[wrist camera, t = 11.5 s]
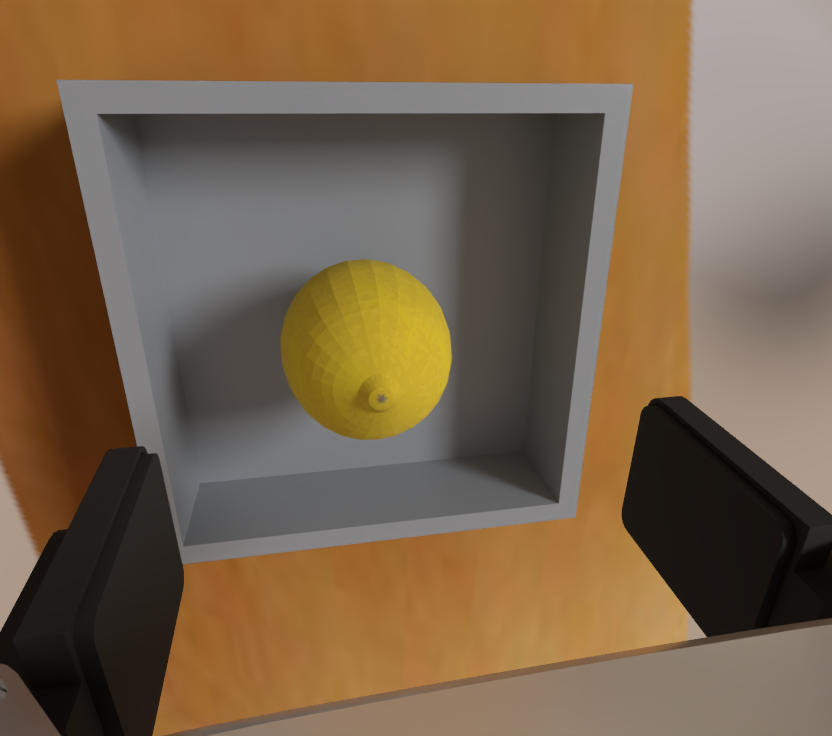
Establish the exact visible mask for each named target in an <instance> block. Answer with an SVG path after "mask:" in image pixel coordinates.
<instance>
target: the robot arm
mask: <svg viewBox="0 0 832 736" xmlns="http://www.w3.org/2000/svg"><path fill="white" fill-rule="evenodd" d="M622 520H623V524H624V526H625V528H626V530H627V531H628V533H629V534H630V535H631V537H632V538H633V539H634V541H635V542H636V543H637V545H638V546H639V547H640V549H641V550H642V551H643V553H644V554H645V555H646V557H647V558H648V559H649V561H650V562H651V563H652V565H653V566H654V567H655V569H656V570H657V571H658V573H659V574H660V575H661V577H662V578H663V579H664V581H665V582H666V583H667V585H668V586H669V587H670V588H671V590H672V591H673V592H674V594H675V595H676V596H677V598H678V599H679V600H680V602H681V603H682V604H683V606H684V607H685V608H686V610H687V611H688V612H689V614H690V615H691V616H692V618H693V619H694V620H695V622H696V623H697V624H698V626H699V627H700V628H701V630H702V631H703V632H704V634H705V635H706V636H707V637H706V638H700V639H694V640H688V641H682V642H676V643H670V644H664V645H658V646H652V647H646V648H640V649H634V650H628V651H622V652H616V653H610V654H605V655H599V656H593V657H587V658H581V659H575V660H570V661H564V662H558V663H552V664H546V665H540V666H535V667H529V668H523V669H517V670H512V671H506V672H500V673H494V674H488V675H483V676H477V677H471V678H465V679H460V680H454V681H448V682H443V683H437V684H431V685H426V686H420V687H415V688H409V689H403V690H398V691H392V692H387V693H381V694H375V695H370V696H364V697H359V698H353V699H347V700H342V701H336V702H331V703H325V704H319V705H314V706H308V707H302V708H297V709H292V710H287V711H282V712H277V713H271V714H266V715H261V716H256V717H251V718H246V719H241V720H236V721H230V722H225V723H220V724H215V725H210V726H205V727H200V728H195V729H190V730H185V731H181V732H177V733H173V734H168V735H164V736H832V515H831V514H830V513H829V512H828V511H826V510H825V509H824V508H822V507H821V506H820V505H819V504H818V503H816V502H815V501H814V500H813V499H811V498H810V497H809V496H807V495H806V494H805V493H804V492H803V491H801V490H800V489H799V488H798V487H796V486H795V485H794V484H792V483H791V482H790V481H789V480H787V479H786V478H785V477H784V476H782V475H781V474H780V473H779V472H777V471H776V470H775V469H774V468H772V467H771V466H770V465H769V464H767V463H766V462H765V461H764V460H762V459H761V458H760V457H759V456H757V455H756V454H755V453H754V452H752V451H751V450H750V449H749V448H747V447H746V446H745V445H744V444H742V443H741V442H740V441H739V440H737V439H736V438H735V437H733V436H732V435H731V434H729V432H727V431H726V430H725V429H724V428H722V427H721V426H720V425H719V424H717V423H716V422H715V421H713V420H712V419H711V418H710V417H708V416H707V415H706V414H705V413H703V412H702V411H701V410H700V409H698V408H697V407H696V406H694V405H693V404H692V403H691V402H690V401H688V400H687V399H686V398H684V397H682V396H676V397H665V398H655V399H653V400H651V401H650V403H649V404H648V406H646V407H644V408H643V410H642V412H641V416H640V421H639V426H638V431H637V436H636V441H635V446H634V451H633V457H632V462H631V467H630V472H629V477H628V482H627V487H626V492H625V497H624V502H623V507H622ZM183 586H184V570H183V564H182V560H181V555H180V551H179V546H178V541H177V537H176V532H175V528H174V523H173V518H172V514H171V509H170V505H169V500H168V495H167V491H166V486H165V482H164V477H163V472H162V468H161V463H160V459H159V456H158V454H157V453H151V454H148V452H147V450H146V448H145V447H144V446H139V447H128V448H117V449H110V450H108V451H107V452H106V454H105V456H104V458H103V460H102V462H101V464H100V466H99V468H98V470H97V472H96V474H95V476H94V478H93V480H92V482H91V484H90V486H89V488H88V490H87V492H86V494H85V496H84V498H83V500H82V502H81V504H80V506H79V508H78V510H77V512H76V514H75V516H74V518H73V520H72V522H71V524H70V526H69V528H68V529H65V530H58V531H57V532H55V533H53V535H52V536H51V538H50V539H49V541H48V542H47V544H46V546H45V548H44V550H43V552H42V554H41V556H40V558H39V560H38V561H37V563H36V565H35V567H34V569H33V571H32V573H31V575H30V577H29V579H28V581H27V583H26V584H25V586H24V588H23V590H22V592H21V594H20V596H19V598H18V599H17V601H16V603H15V605H14V607H13V609H12V611H11V613H10V615H9V617H8V618H7V621H6V622H5V624H4V626H3V628H2V630H1V632H0V736H152V734H153V730H154V725H155V720H156V715H157V711H158V706H159V701H160V696H161V692H162V687H163V682H164V677H165V673H166V668H167V663H168V658H169V654H170V649H171V644H172V639H173V635H174V630H175V625H176V620H177V616H178V611H179V606H180V601H181V597H182V592H183Z"/></svg>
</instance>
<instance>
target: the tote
mask: <svg viewBox="0 0 832 736" xmlns="http://www.w3.org/2000/svg"><path fill="white" fill-rule="evenodd" d="M57 84H58V89H59V93H60V98H61V102H62V107H63V112H64V116H65V121H66V125H67V130H68V134H69V139H70V143H71V148H72V152H73V157H74V161H75V166H76V171H77V175H78V180H79V184H80V189H81V193H82V198H83V202H84V207H85V211H86V216H87V221H88V225H89V230H90V234H91V239H92V243H93V248H94V252H95V257H96V261H97V266H98V270H99V275H100V280H101V284H102V289H103V293H104V298H105V302H106V307H107V311H108V316H109V320H110V325H111V330H112V334H113V339H114V343H115V348H116V352H117V357H118V361H119V366H120V370H121V375H122V380H123V384H124V389H125V393H126V398H127V402H128V407H129V411H130V416H131V420H132V425H133V429H134V434H135V439H136V443H137V447H139V446H144V447H145V448H146V450H147V452H148V454H151V453H157V454H158V456H159V459H160V463H161V468H162V472H163V477H164V482H165V486H166V491H167V495H168V500H169V505H170V509H171V514H172V518H173V523H174V528H175V532H176V537H177V541H178V546H179V551H180V555H181V560H182V564H190V563H198V562H206V561H215V560H223V559H231V558H240V557H248V556H256V555H265V554H273V553H281V552H290V551H298V550H306V549H315V548H323V547H332V546H340V545H348V544H357V543H365V542H373V541H382V540H390V539H398V538H407V537H415V536H423V535H432V534H440V533H449V532H457V531H465V530H474V529H482V528H490V527H499V526H507V525H515V524H524V523H532V522H540V521H549V520H557V519H565V518H574V517H576V509H577V502H578V494H579V487H580V479H581V472H582V464H583V457H584V449H585V442H586V435H587V427H588V420H589V412H590V405H591V397H592V390H593V382H594V375H595V367H596V360H597V353H598V345H599V338H600V330H601V323H602V315H603V308H604V300H605V293H606V285H607V278H608V270H609V263H610V256H611V248H612V241H613V233H614V226H615V218H616V211H617V203H618V196H619V188H620V181H621V173H622V166H623V159H624V151H625V144H626V136H627V129H628V121H629V114H630V106H631V99H632V91H633V84H553V83H415V82H276V81H138V80H57ZM360 259H370V260H376V261H382V262H387V263H390V264H392V265H394V266H396V267H398V268H401V269H403V270H405V271H407V272H409V273H410V274H411V275H412V276H414V277H415V278H416V279H417V280H419V281H420V282H421V283H422V284H423V285H425V286H426V287H427V289H428V290H429V291H430V293H431V294H432V296H433V297H434V298H435V300H436V301H437V303H438V304H439V305H440V307H441V309H442V312H443V315H444V318H445V320H446V323H447V326H448V329H449V332H450V341H451V353H452V361H451V367H450V372H449V378H448V383H447V385H446V387H445V389H444V391H443V393H442V395H441V398H440V400H439V402H438V403H437V405H436V406H435V407H434V408H433V410H432V411H431V412H430V413H429V415H428V416H427V417H426V418H424V419H423V420H422V421H420V422H419V423H418V424H417V425H415V426H414V427H413V428H411V429H409V430H407V431H405V432H402V433H400V434H398V435H396V436H392V437H388V438H384V439H379V440H359V439H354V438H349V437H344V436H341V435H339V434H337V433H335V432H333V431H331V430H329V429H326V428H325V427H323V426H322V425H321V424H319V423H318V422H317V421H316V420H315V419H313V418H312V417H311V416H310V415H309V414H308V413H307V412H306V411H305V410H304V408H303V407H302V405H301V404H300V403H299V401H298V400H297V398H296V397H295V396H294V394H293V392H292V391H291V388H290V386H289V383H288V380H287V378H286V375H285V372H284V369H283V366H282V356H281V343H280V339H281V333H282V328H283V324H284V319H285V315H286V313H287V311H288V309H289V307H290V305H291V303H292V301H293V299H294V297H295V295H296V294H297V293H298V292H299V290H300V289H301V288H302V287H303V286H304V285H305V284H306V283H307V282H308V280H309V279H310V278H312V277H313V276H315V275H316V274H318V273H319V272H321V271H322V270H324V269H325V268H327V267H329V266H332V265H335V264H338V263H341V262H344V261H348V260H360Z"/></svg>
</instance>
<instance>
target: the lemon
mask: <svg viewBox="0 0 832 736" xmlns="http://www.w3.org/2000/svg"><path fill="white" fill-rule="evenodd" d="M280 343H281V356H282V366H283V369H284V372H285V375H286V378H287V380H288V383H289V386H290V388H291V391H292V392H293V394H294V396H295V397H296V398H297V400H298V401H299V403H300V404H301V405H302V407H303V408H304V410H305V411H306V412H307V413H308V414H309V415H310V416H311V417H312V418H313V419H315V420H316V421H317V422H318V423H319V424H321V425H322V426H323V427H325V428H326V429H329V430H331V431H333V432H335V433H337V434H339V435H341V436H344V437H349V438H354V439H359V440H379V439H384V438H388V437H392V436H396V435H398V434H400V433H402V432H405V431H407V430H409V429H411V428H413V427H414V426H415V425H417V424H418V423H419V422H420V421H422V420H423V419H424V418H426V417H427V416H428V415H429V413H430V412H431V411H432V410H433V408H434V407H435V406H436V405H437V403H438V402H439V400H440V398H441V395H442V393H443V391H444V389H445V387H446V385H447V383H448V378H449V372H450V367H451V361H452V353H451V341H450V332H449V329H448V326H447V323H446V320H445V318H444V315H443V312H442V309H441V307H440V305H439V304H438V303H437V301H436V300H435V298H434V297H433V296H432V294H431V293H430V291H429V290H428V289H427V287H426V286H425V285H423V284H422V283H421V282H420V281H419V280H417V279H416V278H415V277H414V276H412V275H411V274H410V273H409V272H407V271H405V270H403V269H401V268H398V267H396V266H394V265H392V264H390V263H387V262H382V261H376V260H370V259H360V260H348V261H344V262H341V263H338V264H335V265H332V266H329V267H327V268H325V269H324V270H322V271H321V272H319V273H318V274H316V275H315V276H313V277H312V278H310V279H309V280H308V282H307V283H306V284H305V285H304V286H303V287H302V288H301V289H300V290H299V292H298V293H297V294H296V295H295V297H294V299H293V301H292V303H291V305H290V307H289V309H288V311H287V313H286V315H285V319H284V324H283V328H282V333H281V339H280Z"/></svg>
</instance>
